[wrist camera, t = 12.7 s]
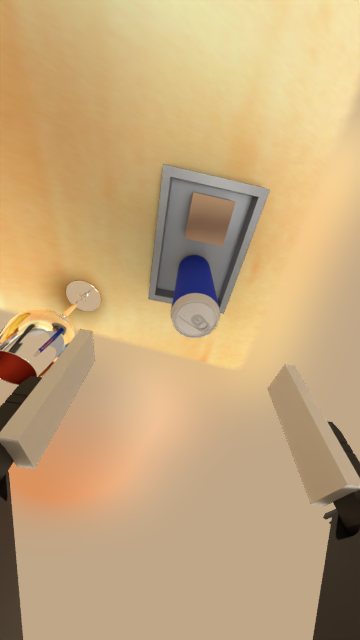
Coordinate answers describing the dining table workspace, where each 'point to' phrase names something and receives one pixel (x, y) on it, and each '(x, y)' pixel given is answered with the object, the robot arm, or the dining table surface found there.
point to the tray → (176, 247)
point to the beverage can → (194, 299)
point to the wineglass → (41, 335)
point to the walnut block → (209, 218)
